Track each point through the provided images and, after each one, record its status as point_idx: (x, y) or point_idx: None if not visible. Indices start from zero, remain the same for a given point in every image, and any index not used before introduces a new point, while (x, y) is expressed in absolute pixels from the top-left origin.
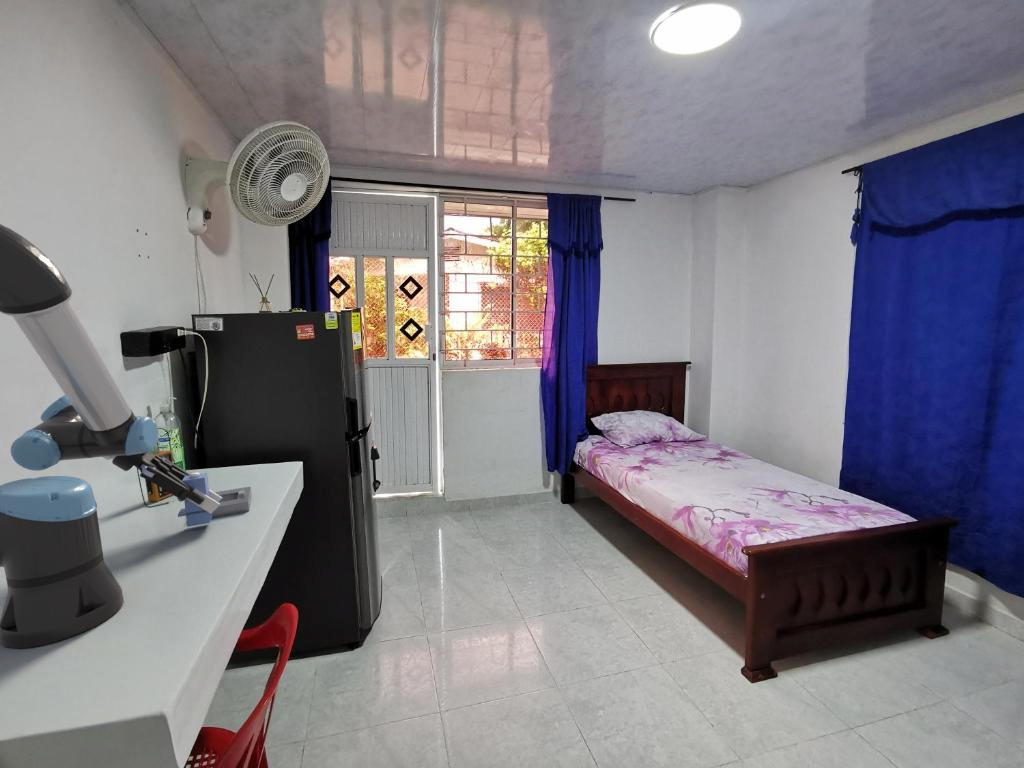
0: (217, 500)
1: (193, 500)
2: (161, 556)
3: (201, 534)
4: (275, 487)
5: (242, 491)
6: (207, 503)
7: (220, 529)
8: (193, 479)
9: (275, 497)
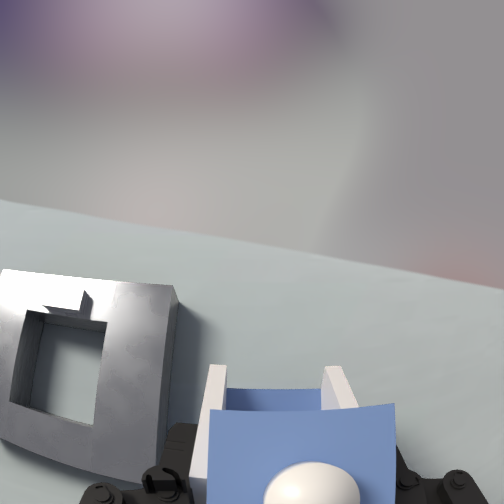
0: (226, 387)
1: None
2: None
3: None
4: (13, 222)
5: (57, 293)
6: None
7: None
8: (392, 484)
9: (98, 224)
